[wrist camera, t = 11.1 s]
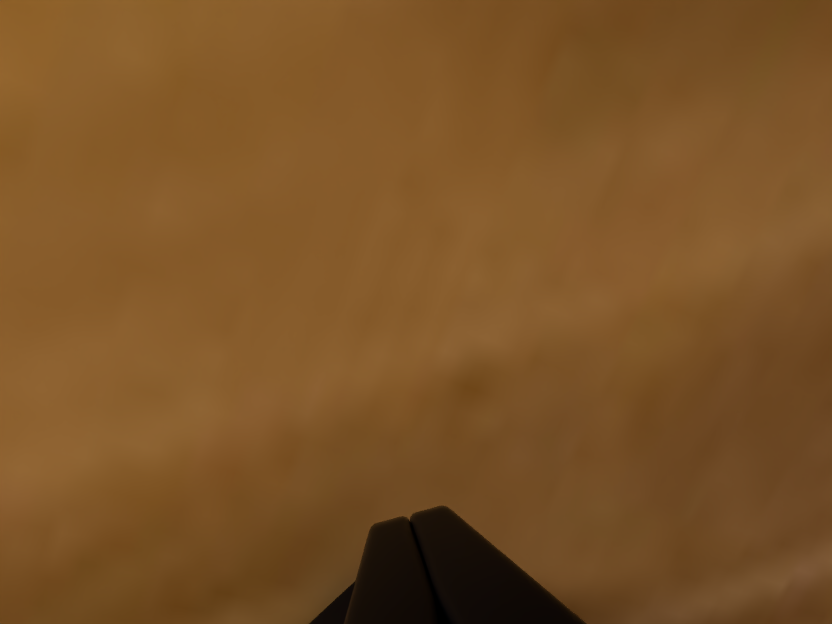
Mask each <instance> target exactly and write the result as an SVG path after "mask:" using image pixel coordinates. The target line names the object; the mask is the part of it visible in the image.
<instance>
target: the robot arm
mask: <svg viewBox="0 0 832 624" xmlns="http://www.w3.org/2000/svg"><path fill="white" fill-rule="evenodd" d="M310 624H586V623H585V622H584V621H583V620H582V619H580V618H579V617H578V616H577V615H576V614H574V613H573V612H572V611H571V610H570V609H569V608H567V607H566V606H565V605H564V604H563V603H561V602H560V601H559V600H558V599H557V598H555V597H554V596H553V595H552V594H551V593H550V592H548V591H547V590H546V589H545V588H544V587H542V586H541V585H540V584H539V583H538V582H536V581H535V580H534V579H533V578H532V577H530V576H529V575H528V574H527V573H526V572H525V571H523V570H522V569H521V568H520V567H519V566H517V565H516V564H515V563H514V562H513V561H511V560H510V559H509V558H508V557H507V556H506V555H504V554H503V553H502V552H501V551H500V550H498V549H497V548H496V547H495V546H494V545H492V544H491V543H490V542H489V541H488V540H486V539H485V538H484V537H483V536H482V535H481V534H479V533H478V532H477V531H476V530H475V529H473V528H472V527H471V526H470V525H469V524H467V523H466V522H465V521H464V520H463V519H461V518H460V517H459V516H458V515H457V514H456V513H454V512H453V511H452V510H451V509H449V508H448V507H446V506H438V507H434V508H431V509H427V510H423V511H420V512H416V513H414V514H412V516H411V518H410V521H409V519H408V518H407V517H404V516H402V517H398V518H394V519H390V520H387V521H383V522H379V523H376V524H374V525H373V526H372V527H371V529H370V531H369V534H368V538H367V541H366V545H365V549H364V552H363V556H362V560H361V563H360V567H359V571H358V574H357V578H356V581H355V582H354V583H353V584H352V585H351V586H350V587H348V588H347V589H346V590H345V591H344V592H343V593H342V594H341V595H340V596H339V597H338V598H337V599H335V600H334V601H333V602H332V603H331V604H330V605H329V606H328V607H327V608H326V609H325V610H324V611H322V612H321V613H320V614H319V615H318V616H317V617H316V618H315V619H314V620H313V621H312V622H311V623H310Z"/></svg>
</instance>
